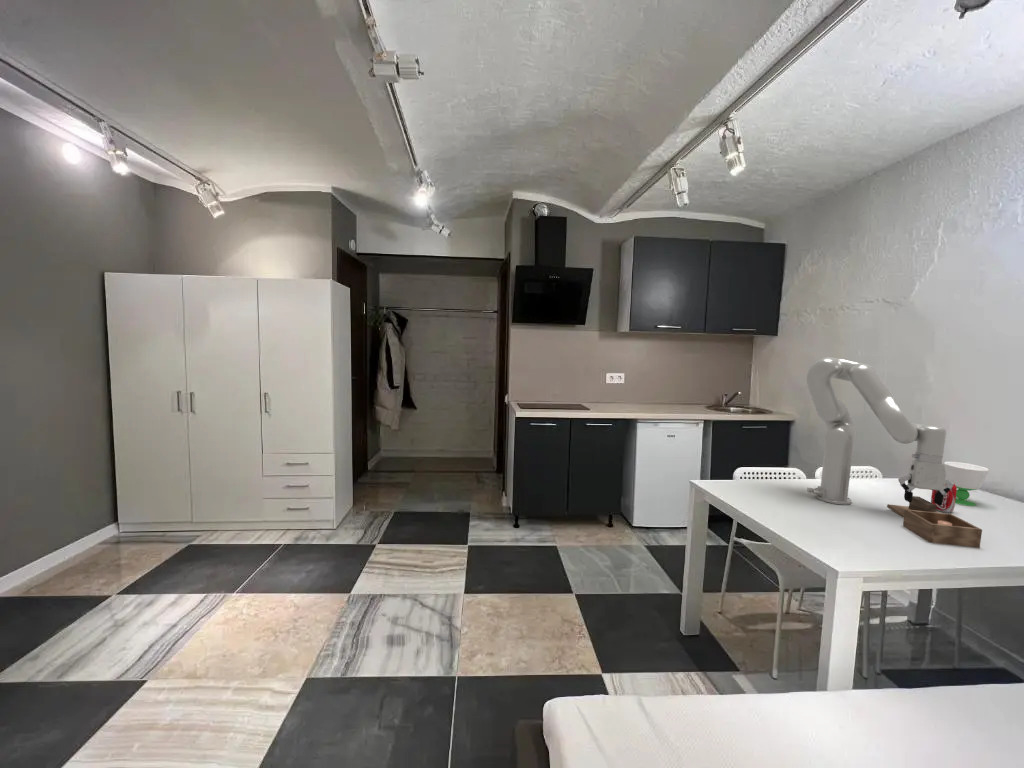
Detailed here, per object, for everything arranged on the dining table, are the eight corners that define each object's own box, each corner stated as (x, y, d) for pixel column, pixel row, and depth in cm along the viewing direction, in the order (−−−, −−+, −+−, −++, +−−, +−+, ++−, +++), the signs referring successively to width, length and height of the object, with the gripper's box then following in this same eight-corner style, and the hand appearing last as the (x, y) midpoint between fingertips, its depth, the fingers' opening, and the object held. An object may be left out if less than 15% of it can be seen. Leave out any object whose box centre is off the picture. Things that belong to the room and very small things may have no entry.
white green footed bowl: (938, 494, 207) (942, 459, 205) (981, 502, 198) (986, 466, 197) (940, 502, 196) (945, 465, 195) (986, 510, 188) (991, 472, 186)
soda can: (958, 514, 182) (962, 484, 181) (937, 512, 183) (941, 483, 182) (945, 508, 189) (949, 479, 187) (925, 506, 190) (929, 477, 189)
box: (928, 545, 152) (931, 524, 151) (902, 528, 165) (904, 509, 165) (979, 550, 149) (982, 529, 148) (948, 533, 162) (951, 513, 162)
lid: (910, 524, 170) (912, 505, 169) (886, 509, 184) (888, 492, 184) (958, 529, 167) (960, 509, 166) (930, 514, 181) (933, 496, 180)
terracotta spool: (940, 535, 158) (942, 523, 158) (933, 530, 161) (935, 519, 161) (953, 536, 157) (954, 525, 157) (945, 532, 161) (947, 521, 160)
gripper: (908, 458, 171) (902, 503, 173) (963, 463, 168) (956, 508, 169) (896, 453, 178) (890, 496, 180) (948, 458, 175) (942, 501, 177)
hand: (922, 502), depth 175 cm, fingers open, 9 cm apart
